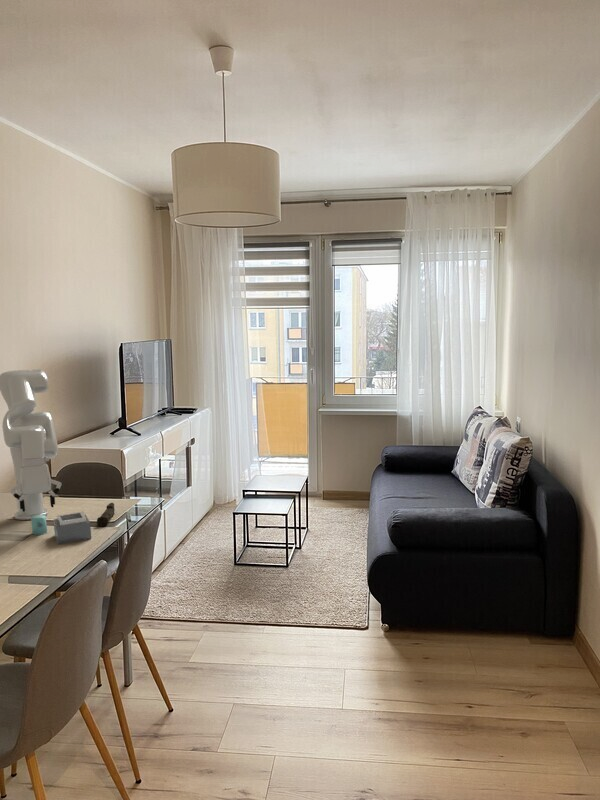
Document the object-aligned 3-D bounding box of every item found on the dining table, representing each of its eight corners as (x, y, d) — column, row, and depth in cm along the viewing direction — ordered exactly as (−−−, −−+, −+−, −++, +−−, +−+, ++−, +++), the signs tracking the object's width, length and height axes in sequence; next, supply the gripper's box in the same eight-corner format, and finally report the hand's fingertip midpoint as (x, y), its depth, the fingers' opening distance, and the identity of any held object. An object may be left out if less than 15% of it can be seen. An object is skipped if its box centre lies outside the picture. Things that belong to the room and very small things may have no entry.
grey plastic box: (54, 535, 232) (53, 515, 231) (86, 530, 237) (85, 510, 236) (58, 544, 222) (56, 523, 222) (91, 538, 227) (89, 518, 226)
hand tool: (107, 527, 241) (107, 514, 241) (97, 527, 241) (96, 515, 241) (120, 512, 260) (119, 501, 260) (110, 512, 260) (109, 501, 260)
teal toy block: (31, 532, 237) (30, 516, 236) (46, 529, 239) (45, 514, 239) (33, 537, 231) (32, 520, 231) (48, 534, 234) (46, 518, 233)
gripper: (58, 457, 240) (62, 503, 241) (7, 463, 232) (11, 510, 234) (60, 460, 233) (64, 507, 235) (8, 466, 226) (12, 514, 227)
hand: (38, 508), depth 234 cm, fingers open, 9 cm apart
